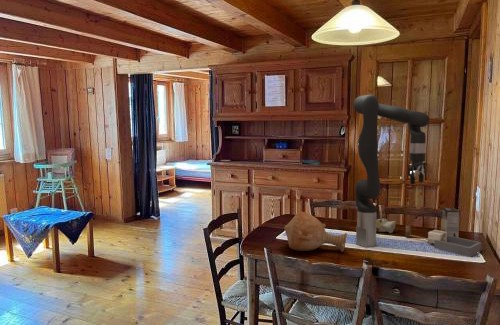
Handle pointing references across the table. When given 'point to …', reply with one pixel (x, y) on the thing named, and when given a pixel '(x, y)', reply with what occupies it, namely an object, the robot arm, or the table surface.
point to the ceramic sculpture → (385, 225)
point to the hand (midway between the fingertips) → (416, 183)
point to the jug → (310, 234)
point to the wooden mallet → (429, 235)
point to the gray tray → (459, 246)
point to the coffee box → (450, 221)
